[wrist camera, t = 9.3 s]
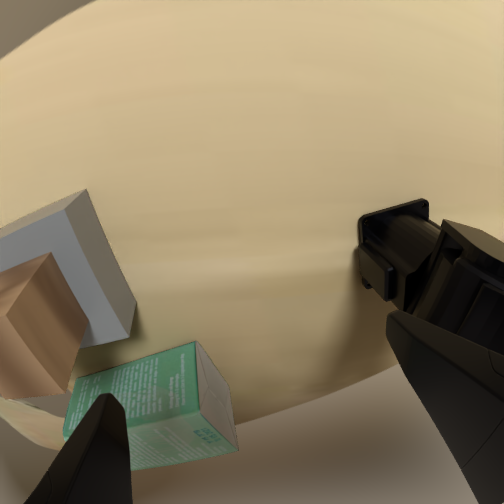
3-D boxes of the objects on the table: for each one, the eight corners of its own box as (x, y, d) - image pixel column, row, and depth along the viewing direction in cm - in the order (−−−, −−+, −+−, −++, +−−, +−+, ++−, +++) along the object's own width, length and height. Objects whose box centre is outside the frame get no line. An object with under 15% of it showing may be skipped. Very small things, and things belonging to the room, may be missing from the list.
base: (86, 188, 18) (64, 209, 14) (136, 301, 22) (129, 337, 19) (-7, 231, 17) (-34, 256, 14) (46, 326, 22) (31, 358, 18)
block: (51, 251, 15) (5, 315, 10) (89, 320, 17) (65, 393, 12) (-3, 273, 15) (-49, 332, 10) (34, 334, 17) (5, 399, 12)
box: (72, 377, 25) (57, 441, 18) (195, 335, 25) (201, 411, 18) (116, 418, 28) (112, 476, 22) (230, 385, 28) (243, 451, 22)
